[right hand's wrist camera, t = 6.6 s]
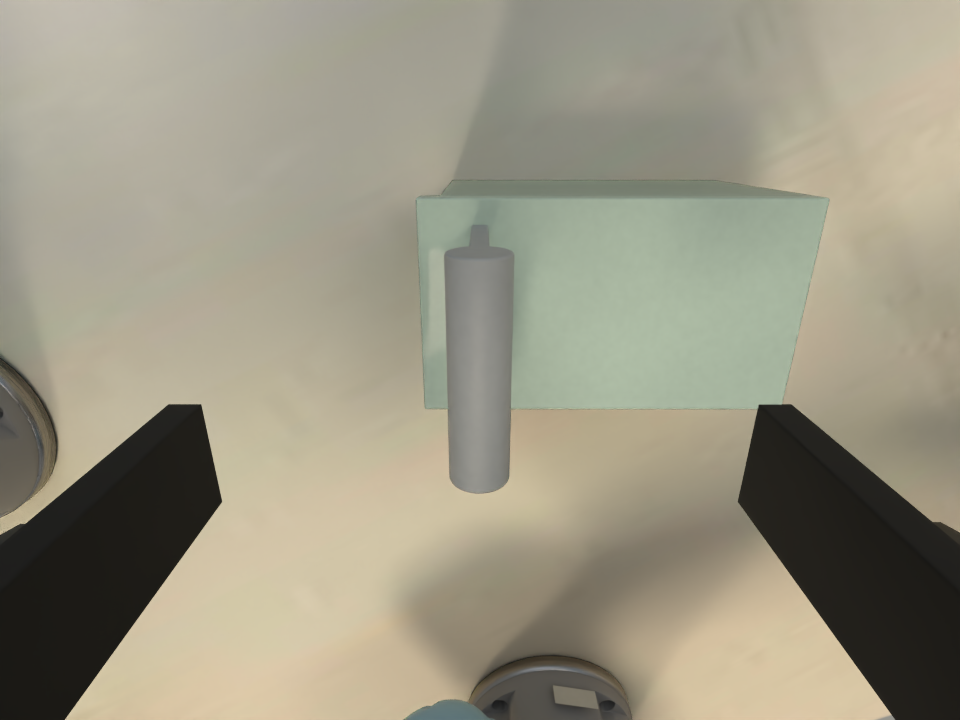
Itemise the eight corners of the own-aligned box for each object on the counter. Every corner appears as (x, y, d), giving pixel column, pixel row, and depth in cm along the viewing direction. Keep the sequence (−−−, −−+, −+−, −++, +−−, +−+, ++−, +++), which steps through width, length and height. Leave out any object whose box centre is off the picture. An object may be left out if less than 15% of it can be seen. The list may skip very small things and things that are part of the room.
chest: (455, 329, 37) (445, 398, 27) (452, 180, 33) (440, 195, 23) (690, 329, 37) (768, 398, 27) (713, 179, 33) (813, 195, 23)
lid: (427, 398, 27) (401, 517, 18) (418, 195, 23) (382, 224, 15) (768, 398, 27) (903, 517, 18) (814, 195, 23) (1008, 225, 15)
